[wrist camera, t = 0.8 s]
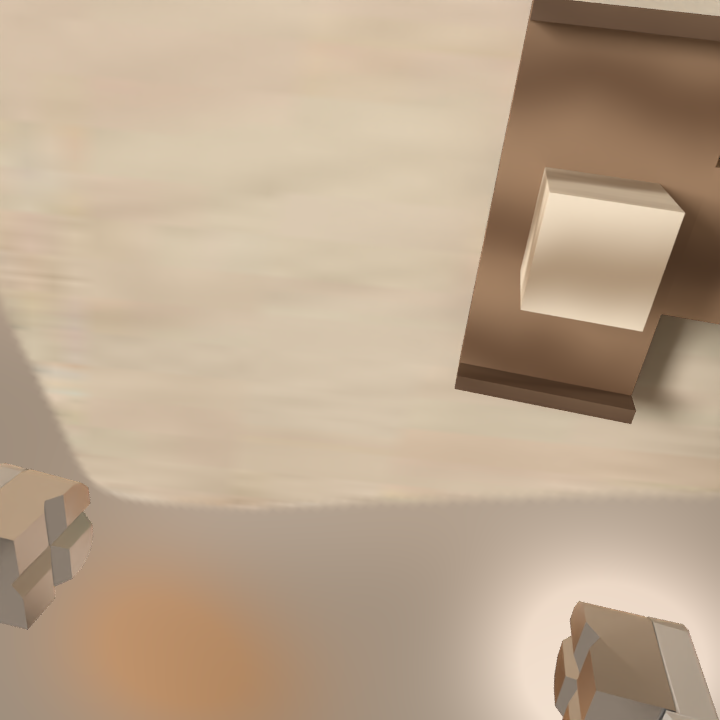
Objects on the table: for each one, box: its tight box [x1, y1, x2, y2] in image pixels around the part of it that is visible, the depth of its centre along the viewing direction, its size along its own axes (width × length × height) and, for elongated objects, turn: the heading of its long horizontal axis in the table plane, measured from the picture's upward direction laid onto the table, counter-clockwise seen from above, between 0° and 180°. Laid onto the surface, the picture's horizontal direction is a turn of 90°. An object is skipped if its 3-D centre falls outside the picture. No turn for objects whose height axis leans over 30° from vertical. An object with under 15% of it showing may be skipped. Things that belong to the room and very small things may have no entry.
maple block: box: [520, 167, 685, 332], centre depth 27 cm, size 5×5×5 cm
